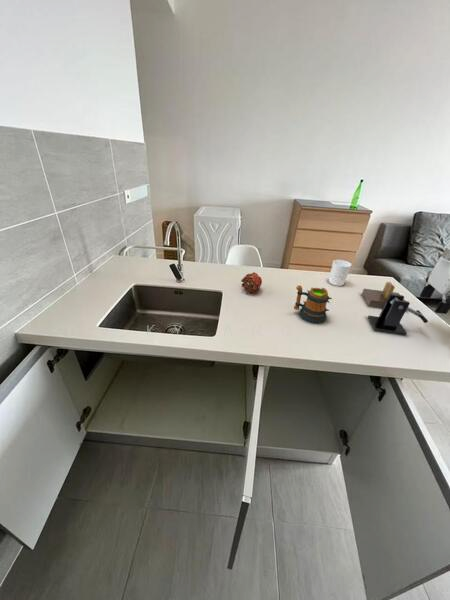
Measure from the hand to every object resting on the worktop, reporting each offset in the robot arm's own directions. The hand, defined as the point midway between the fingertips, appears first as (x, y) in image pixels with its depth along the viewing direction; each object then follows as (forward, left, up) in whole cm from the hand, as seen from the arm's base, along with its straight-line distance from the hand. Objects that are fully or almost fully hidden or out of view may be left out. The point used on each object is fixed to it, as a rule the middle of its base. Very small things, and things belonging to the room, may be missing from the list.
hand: (432, 304), depth 81 cm
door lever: (+7, +1, -3) cm, 8 cm away
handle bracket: (+11, +1, -11) cm, 15 cm away
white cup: (+22, -31, -11) cm, 40 cm away
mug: (+38, +1, -11) cm, 39 cm away
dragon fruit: (+61, -13, -11) cm, 63 cm away
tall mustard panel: (+6, -17, -7) cm, 20 cm away
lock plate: (+6, -17, -11) cm, 21 cm away
